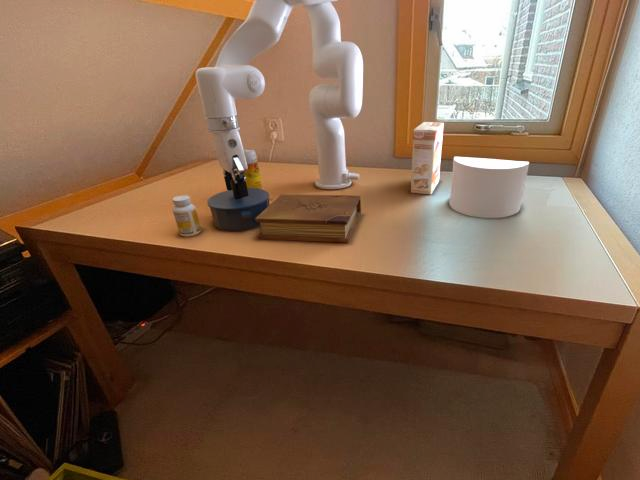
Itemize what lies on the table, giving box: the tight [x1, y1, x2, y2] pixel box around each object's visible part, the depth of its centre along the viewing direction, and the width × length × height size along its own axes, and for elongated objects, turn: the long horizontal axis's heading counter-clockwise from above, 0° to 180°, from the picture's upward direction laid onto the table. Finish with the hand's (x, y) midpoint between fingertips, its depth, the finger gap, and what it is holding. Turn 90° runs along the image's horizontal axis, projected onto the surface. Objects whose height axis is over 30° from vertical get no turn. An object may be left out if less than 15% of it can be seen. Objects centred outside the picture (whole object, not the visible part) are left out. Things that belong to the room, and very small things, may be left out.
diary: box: [255, 193, 362, 243], centre depth 98 cm, size 23×19×6 cm
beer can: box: [243, 148, 264, 190], centre depth 116 cm, size 6×6×15 cm
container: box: [448, 155, 530, 219], centre depth 105 cm, size 20×20×13 cm
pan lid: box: [206, 179, 270, 210], centre depth 100 cm, size 16×16×6 cm
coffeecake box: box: [410, 121, 445, 195], centre depth 119 cm, size 15×7×20 cm, turn 160°
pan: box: [209, 198, 271, 232], centre depth 103 cm, size 16×21×6 cm
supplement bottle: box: [172, 194, 202, 238], centre depth 95 cm, size 5×5×10 cm
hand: (237, 192), depth 100 cm, fingers open, 7 cm apart
